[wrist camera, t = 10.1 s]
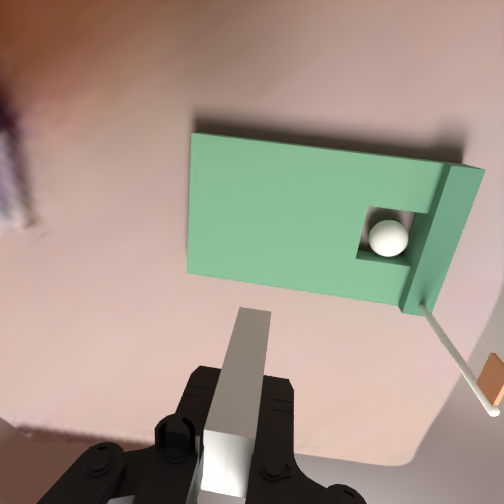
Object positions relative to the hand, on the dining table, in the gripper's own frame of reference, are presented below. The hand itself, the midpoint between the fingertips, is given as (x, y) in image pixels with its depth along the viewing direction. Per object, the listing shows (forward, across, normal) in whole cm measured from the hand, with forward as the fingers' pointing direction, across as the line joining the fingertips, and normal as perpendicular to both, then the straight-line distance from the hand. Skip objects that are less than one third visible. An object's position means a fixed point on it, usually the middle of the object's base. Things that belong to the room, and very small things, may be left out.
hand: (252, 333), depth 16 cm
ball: (+22, +12, -2) cm, 25 cm away
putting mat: (+24, +4, -1) cm, 25 cm away
